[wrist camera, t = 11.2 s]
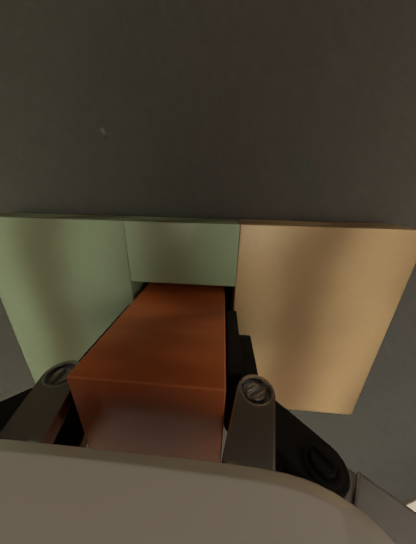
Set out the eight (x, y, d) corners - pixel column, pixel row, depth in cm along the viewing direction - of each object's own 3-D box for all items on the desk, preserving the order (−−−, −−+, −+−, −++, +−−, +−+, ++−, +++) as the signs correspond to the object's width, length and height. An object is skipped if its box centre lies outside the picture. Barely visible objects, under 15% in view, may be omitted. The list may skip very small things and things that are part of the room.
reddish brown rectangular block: (224, 284, 12) (226, 390, 5) (221, 344, 13) (218, 483, 7) (151, 280, 12) (64, 376, 6) (156, 340, 14) (94, 469, 7)
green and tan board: (385, 223, 11) (430, 230, 8) (331, 381, 15) (351, 415, 13) (15, 212, 12) (-34, 215, 10) (62, 360, 16) (36, 386, 14)
